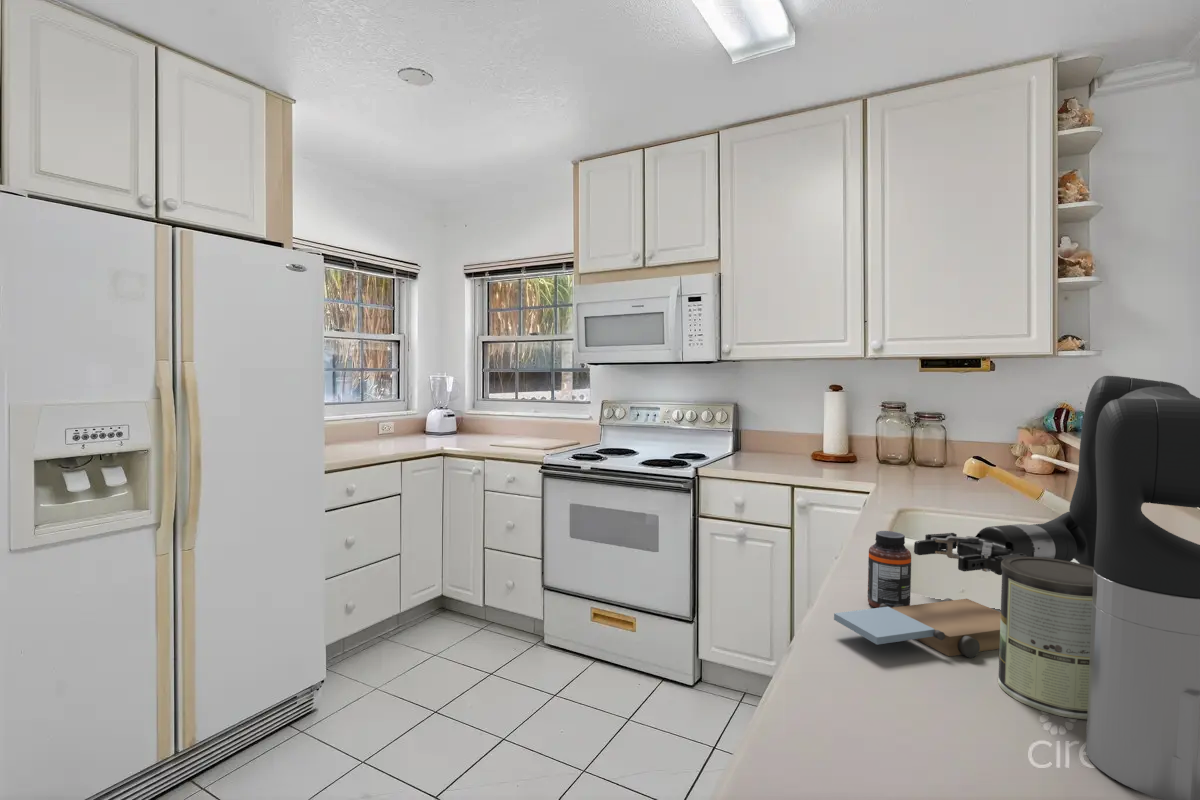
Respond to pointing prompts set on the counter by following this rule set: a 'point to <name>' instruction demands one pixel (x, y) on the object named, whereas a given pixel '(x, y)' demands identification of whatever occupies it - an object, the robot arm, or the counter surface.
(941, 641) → the flatbed
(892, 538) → the supplement bottle
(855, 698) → the counter surface
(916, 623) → the panel
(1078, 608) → the coffee can
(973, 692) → the counter surface
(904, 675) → the counter surface
